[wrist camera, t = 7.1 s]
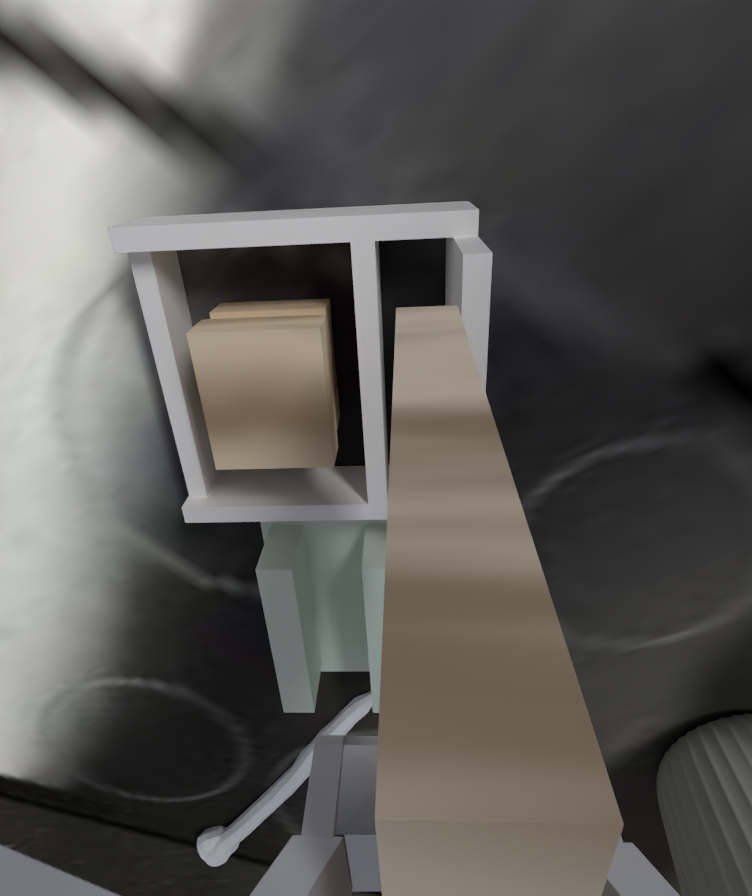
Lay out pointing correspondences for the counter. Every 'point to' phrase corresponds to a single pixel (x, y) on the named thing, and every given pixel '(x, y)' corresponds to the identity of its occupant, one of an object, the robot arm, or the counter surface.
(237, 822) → the white ladle
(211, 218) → the rack
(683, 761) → the canister
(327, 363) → the offcut stack
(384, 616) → the birch panel
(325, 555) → the holder
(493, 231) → the counter surface
